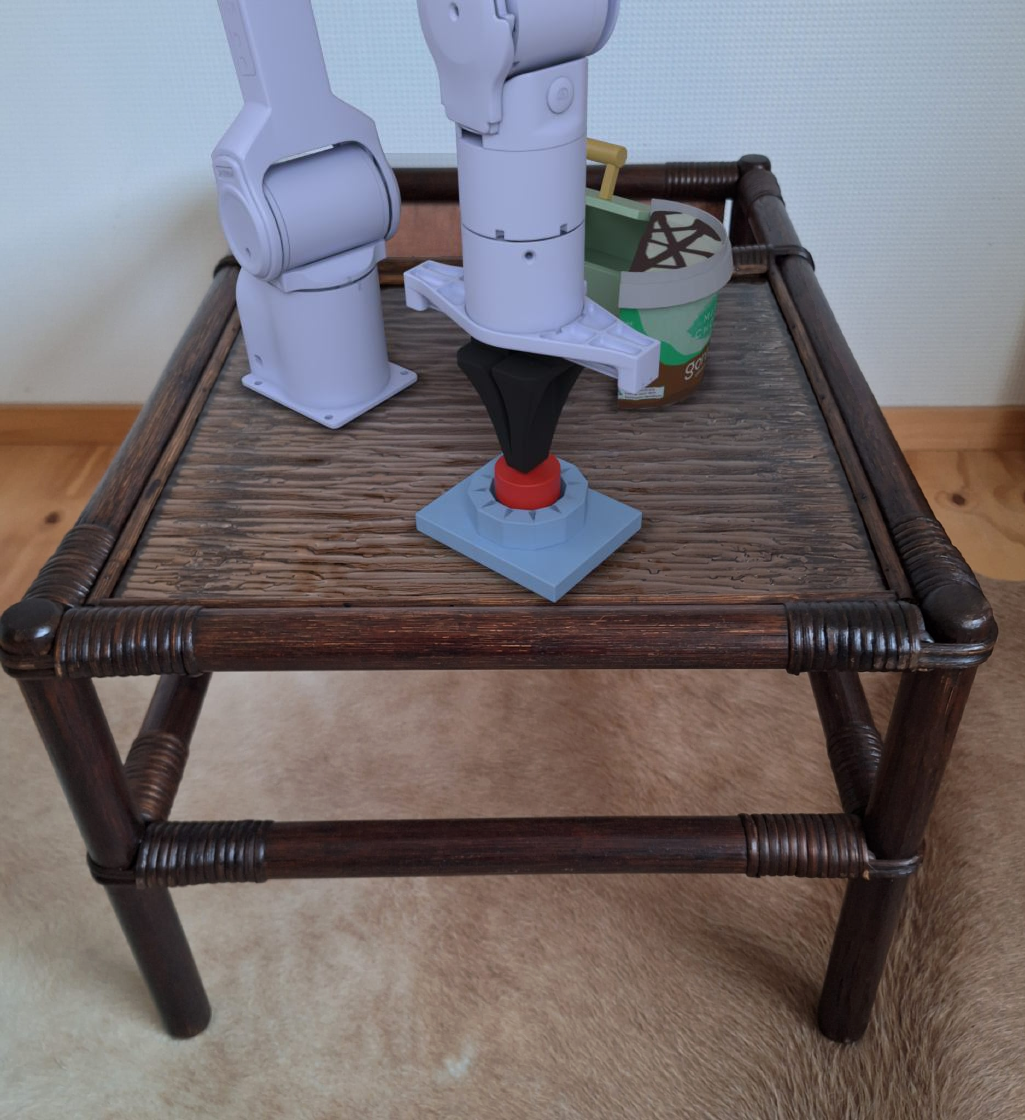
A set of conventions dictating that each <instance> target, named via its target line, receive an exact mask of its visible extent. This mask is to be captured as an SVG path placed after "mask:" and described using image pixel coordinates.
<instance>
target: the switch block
mask: <svg viewBox="0 0 1025 1120" xmlns="http://www.w3.org/2000/svg"><path fill="white" fill-rule="evenodd" d="M502 455H503V452H501V453H500V454H498V455H497V456H495V457H494V458H493V459H491V460H490V461H488V462H487V463H486V464H484V465H482V466H481V467H479V468H478V469H477V470H475V471H474V472H473V473H471V474H469V475H468V476H467V477H465V478H464V479H463V480H461V481H460V482H458V483H457V484H455V485H454V486H453V487H451V488H449V489H448V490H447V491H445V492H444V493H443V494H441V495H440V496H438V497H437V498H435V499H433V500H432V502H430V503H429V504H427V505H426V506H424V507H423V508H421V509H420V510H418V511H417V512H416V513H414V514H415V515H414V516H415V526H416V530H417V531H418V532H419V533H422V534H424V535H426V536H428V537H429V538H431V539H434V540H435V541H436V542H439V543H440V544H443V545H445V546H447V547H448V548H450V549H452V550H454V551H456V552H458V553H460V554H462V555H463V556H465V557H467V558H470V559H471V560H473V561H475V562H477V563H478V564H480V565H482V566H484V567H486V568H488V569H490V570H492V571H494V572H495V573H497V574H500V575H501V576H503V577H505V578H507V579H509V580H511V581H512V582H514V583H515V584H518V585H519V586H522V587H524V588H526V589H527V590H529V591H531V592H533V593H535V594H536V595H539V596H541V597H542V598H544V599H546V600H548V601H550V602H552V603H554V604H555V603H556V602H558V601H559V600H560V599H561V598H562V597H563V596H564V595H566V594H567V593H568V592H569V591H570V590H571V589H573V588H574V587H576V585H577V584H579V582H581V581H582V580H583V579H584V578H586V577H587V575H589V574H590V573H591V572H592V571H594V570H595V569H596V568H597V567H598V566H599V565H601V564H602V563H603V562H604V561H605V560H606V559H607V558H609V557H610V556H611V555H612V554H613V553H614V552H615V551H616V550H618V549H619V548H620V547H622V545H624V544H625V543H626V542H627V541H628V540H629V539H630V538H631V537H633V536H634V535H635V534H637V532H639V531H640V530H641V529H642V523H643V522H642V521H643V512H642V511H641V510H639V509H637V508H634V507H632V506H630V505H628V504H626V503H624V502H621V501H619V500H617V499H614V498H612V497H611V496H608V495H606V494H604V493H602V492H599V491H597V490H594V489H592V488H590V487H589V482H588V480H587V478H586V477H585V476H584V474H583V473H582V472H581V470H580V469H579V468H578V466H577V465H575V464H573V463H570V462H569V461H567V460H564V459H562V458H560V457H557V456H555V457H556V458H557V459H558V461H559V462H560V466H561V492H560V496H559V498H558V499H557V501H556V502H555V503H554V504H552V505H551V506H549V507H545V508H541V509H537V510H533V511H532V510H520V509H510V508H508V507H506V506H504V505H503V504H502V503H500V502H499V500H498V499H497V497H496V494H495V473H494V467H495V463H496V461H497V460H498V459H499V458H500V457H501V456H502Z"/></svg>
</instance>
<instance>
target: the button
mask: <svg viewBox="0 0 1025 1120" xmlns="http://www.w3.org/2000/svg"><path fill="white" fill-rule="evenodd" d="M556 457H557V456H555V455H554V454H552V453H551V452H549V456H548V458H547V459H546V460H545V461H543V462H542V463H541V464H539V465H538V466H536V467H535V468H534V469H532V470H531V471H530V472H528V473H522V472H520V471H518V470H516V469H514V468H511V467H509V466H507V464H506V461H505V458H504V455H502V456H501V457H500V458H499V459H498V460H497V461H496V463H495V467H494V473H495V494H496V497H497V499H498V500H499V502H500V503H502V504H503V505H504V506H506V507H508V508H510V509H520V510H532V511H533V510H537V509H541V508H545V507H549V506H551V505H552V504H554V503H555V502H556V501H557V499H558V498H559V496H560V492H561V466H560V462H559V461H558V459H557V458H558V457H557V458H556Z"/></svg>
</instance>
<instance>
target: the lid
mask: <svg viewBox="0 0 1025 1120" xmlns="http://www.w3.org/2000/svg"><path fill="white" fill-rule="evenodd" d="M627 159H628V149H627V147H626V146H624V145H619V144H615V143H611V142H607V141H603V140H600V139H595V138H591V137H588V136H587V152H586V161H591V162H595V163H598V164H602V165H603V164H604V165H606V167H605V171H604V174H603V178H602V182H601V187H600V190H597V189H593V188H589V187H586V205H588V206H591V207H595V208H598V209H601V210H605V211H608V212H612V213H615V214H619V215H622V216H626V217H629V218H632V219H636V220H642V221H648V222H649V221H650V215H651V204H646V203H643V202H639V201H635V200H632V199H628V198H625V197H621V196H618V195H615V194H614V192H615V187H616V183H617V179H618V176H619V172H620V168H623V167H624V166H625V164H626V162H627Z"/></svg>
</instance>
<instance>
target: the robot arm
mask: <svg viewBox="0 0 1025 1120" xmlns="http://www.w3.org/2000/svg"><path fill="white" fill-rule="evenodd" d="M216 2H217V5H218V10H219V14H220V17H221V20H222V24H223V28H224V31H225V36H226V39H227V43H228V47H229V51H230V54H231V58H232V61H233V65H234V66H233V67H234V70H235V73H236V76H237V80H238V84H239V88H240V92H241V96H242V99H243V105H242V107H241V110H240V111H239V113H237V116H236V117H235V119H234V120H233V121H232V122H231V124H230V126H229V127H228V129H227V130H226V132H225V133H224V134H223V135H222V137H221V138H220V139H219V141H218V142H217V144H216V145H215V147H214V148H213V150H212V152H211V155H210V157H211V161H212V165H211V167H212V171H213V174H214V179H215V184H216V190H217V210H218V217H219V222H220V225H221V229H222V233H223V235H224V238H225V240H226V243H227V245H228V247H229V249H230V251H231V253H232V255H233V256H234V258H235V260H236V262H237V263H238V264H239V265H240V267H241V268H240V271H239V273H238V276H237V280H236V285H235V301H236V306H237V311H238V316H239V321H240V326H241V331H242V334H243V339H244V345H245V349H246V354H247V359H248V364H249V369H250V373H248V374H246V375H244V376H243V377H242V378H241V382H242V383H241V384H242V385H243V386H244V387H246V388H248V389H250V390H252V391H254V392H256V393H258V394H260V395H262V396H264V397H266V398H268V399H270V400H272V401H274V402H276V403H279V404H280V405H282V406H284V407H286V408H288V409H290V410H293V411H295V412H296V413H298V414H301V415H302V416H304V417H307V418H308V419H311V420H313V421H315V422H317V423H318V424H321V425H323V426H325V427H327V428H329V429H333V430H336V429H339V428H341V427H343V426H344V425H346V424H348V423H350V422H351V421H353V420H354V419H357V418H358V417H359V416H361V415H363V414H366V412H368V411H369V410H371V409H373V408H375V407H376V406H378V405H380V404H382V403H383V402H384V401H386V400H388V399H390V398H391V397H394V396H395V395H396V394H398V393H399V392H401V391H403V390H405V389H406V388H408V387H410V386H411V385H413V384H414V383H416V382H417V381H418V374H417V373H416V372H415V371H413V370H410V369H407V368H405V367H403V366H401V365H398V364H396V363H394V362H391V361H389V357H388V347H387V340H386V339H387V338H386V331H385V321H384V312H383V303H382V293H381V286H380V285H381V284H380V277H379V269H378V267H379V266H378V263H380V262H381V261H383V260H385V259H387V258H388V253H387V246H386V242H389V241H390V240H391V239H393V238H394V237H395V236H396V234H397V232H398V230H399V227H400V221H401V215H402V197H401V191H400V188H399V187H400V186H399V183H398V180H397V178H396V174H395V172H394V171H393V168H392V166H391V164H390V163H389V161H388V160H387V157H386V155H385V151H384V149H383V146H382V144H381V140H380V137H379V133H378V130H377V125H376V121H375V120H374V119H373V118H372V117H370V116H369V115H368V114H366V113H365V112H363V111H361V110H360V109H359V108H357V107H355V106H353V105H351V104H349V103H348V102H346V101H344V100H343V99H341V98H340V97H338V96H336V95H335V94H334V93H333V92H332V89H331V85H330V80H329V76H328V71H327V66H326V63H325V58H324V53H323V50H322V44H321V40H320V36H319V32H318V28H317V23H316V22H317V21H316V18H315V14H314V10H313V5H312V0H216ZM416 6H417V7H416V8H417V14H418V19H419V25H420V28H421V31H422V34H423V37H424V40H425V43H426V46H427V48H428V50H429V52H430V55H431V57H432V59H433V61H434V64H435V67H436V72H437V75H438V81H439V94H440V95H439V96H440V104H441V105H443V106H444V112H445V116H446V118H447V119H448V120H449V121H451V122H454V130H455V131H454V132H455V148H456V164H457V183H458V198H459V199H458V200H459V215H460V217H459V218H460V220H459V221H460V230H461V232H460V233H461V251H462V253H461V254H462V266H456V265H450V264H445V263H442V262H438V261H434V260H431V259H428V260H425V261H424V262H422V263H420V264H418V265H416V266H414V267H412V268H410V269H408V270H406V271H404V272H403V282H404V293H405V304H406V307H407V308H410V309H412V310H415V311H418V312H423V311H425V310H427V309H428V308H430V309H433V310H436V311H438V312H440V313H444V314H445V315H446V316H447V317H449V318H450V319H451V320H452V321H453V322H454V323H456V324H457V325H458V326H459V327H460V328H462V329H463V330H464V331H465V332H466V333H467V334H468V335H470V341H469V342H468V343H465V344H464V345H462V346H461V347H460V348H459V349H457V351H456V365H457V367H458V368H459V369H460V370H461V372H462V373H463V374H464V375H465V377H466V378H467V380H468V381H469V382H470V384H471V385H472V386H473V388H474V390H475V391H476V393H477V395H478V396H479V399H480V400H481V402H482V404H483V406H484V407H485V410H486V412H487V414H488V416H489V419H490V421H491V424H492V426H493V429H494V431H495V435H496V437H497V440H498V444H499V446H500V450H501V453H503V455H504V458H505V461H506V464H507V466H509V467H511V468H514V469H516V470H518V471H520V472H522V473H528V472H530V471H531V470H532V469H534V468H535V467H536V466H538V465H539V464H541V463H542V462H543V461H545V460H546V459H547V458H548V456H549V453H551V452H550V451H551V448H552V443H553V440H554V435H555V432H556V429H557V426H558V423H559V420H560V417H561V414H562V412H563V409H564V407H565V405H566V402H567V400H568V397H569V395H570V394H571V391H572V390H573V387H574V385H576V382H577V381H578V379H579V377H580V376H581V374H582V372H583V371H584V369H585V368H587V369H590V370H592V371H594V372H598V373H600V374H602V375H606V376H608V377H611V378H613V379H616V380H617V389H618V388H619V389H621V390H624V391H626V392H629V393H631V394H636V393H637V392H639V391H640V390H641V389H644V388H645V387H646V386H648V385H649V384H650V383H651V382H652V381H654V380H655V379H656V378H658V374H659V360H660V346H661V342H660V341H659V340H656V339H653V338H651V337H648V336H646V335H644V334H642V333H640V332H638V331H636V330H635V329H633V328H631V327H630V326H628V325H627V324H625V323H624V322H623V321H621V320H620V319H618V318H617V317H615V316H614V315H613V314H611V313H610V312H608V311H607V310H605V309H604V308H603V307H601V306H600V305H598V304H597V303H595V302H594V301H593V300H591V299H590V298H588V297H587V296H585V295H586V294H587V281H586V280H584V249H585V205H586V188H587V159H586V152H587V137H588V95H589V93H588V91H589V58H588V57H590V56H593V55H595V54H596V53H598V52H600V51H601V50H602V49H603V48H604V46H606V44H608V41H609V40H610V39H611V37H612V35H613V33H614V30H615V28H616V26H617V21H618V18H619V15H620V9H621V8H620V7H621V0H416ZM330 146H332V147H330ZM325 147H330V148H326V149H322V148H325ZM319 149H322V150H319ZM315 150H319V151H316V152H312V151H315ZM308 152H312V153H308ZM305 153H308V154H306V155H302V156H298V157H295V158H291V159H287V158H290V157H294V156H297V155H301V154H305ZM283 159H287V160H284V161H280V160H283ZM279 161H280V162H279ZM276 162H277V163H276Z"/></svg>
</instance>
